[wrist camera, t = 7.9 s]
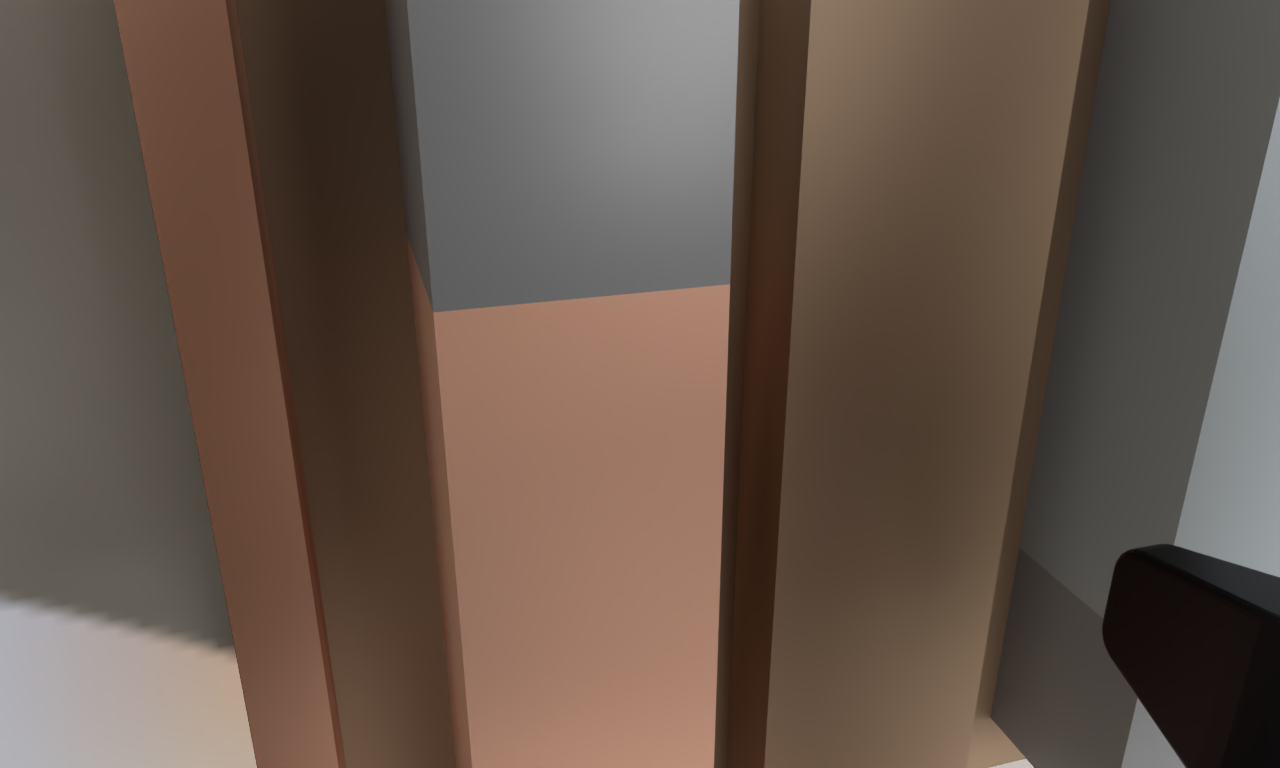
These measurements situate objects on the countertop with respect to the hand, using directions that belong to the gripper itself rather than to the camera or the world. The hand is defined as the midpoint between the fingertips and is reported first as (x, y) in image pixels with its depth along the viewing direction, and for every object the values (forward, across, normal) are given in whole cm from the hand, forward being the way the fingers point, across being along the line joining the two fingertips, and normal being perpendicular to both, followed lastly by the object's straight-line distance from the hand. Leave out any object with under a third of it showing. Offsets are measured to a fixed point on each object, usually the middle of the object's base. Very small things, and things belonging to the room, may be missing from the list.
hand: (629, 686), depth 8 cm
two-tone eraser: (+4, 0, 0) cm, 4 cm away
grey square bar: (+4, -8, 0) cm, 9 cm away
